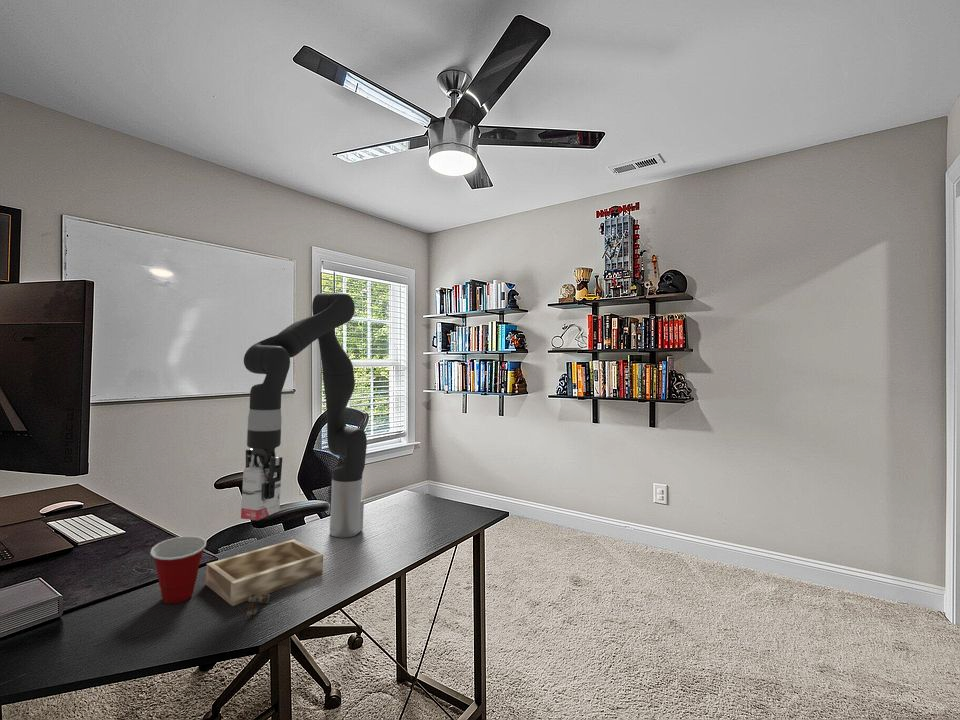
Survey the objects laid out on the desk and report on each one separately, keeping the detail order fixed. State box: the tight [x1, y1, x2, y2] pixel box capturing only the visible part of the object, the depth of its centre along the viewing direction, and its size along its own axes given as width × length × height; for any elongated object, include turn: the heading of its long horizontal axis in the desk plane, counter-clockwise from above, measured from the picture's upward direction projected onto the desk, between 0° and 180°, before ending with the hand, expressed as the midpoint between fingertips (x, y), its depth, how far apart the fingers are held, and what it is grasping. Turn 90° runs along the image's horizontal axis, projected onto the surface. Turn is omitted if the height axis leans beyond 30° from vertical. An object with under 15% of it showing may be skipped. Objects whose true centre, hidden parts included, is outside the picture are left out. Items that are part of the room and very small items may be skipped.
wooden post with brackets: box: [245, 593, 271, 619], centre depth 106 cm, size 2×8×4 cm, turn 178°
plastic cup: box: [150, 535, 207, 604], centre depth 110 cm, size 11×11×12 cm
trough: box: [205, 538, 324, 607], centre depth 120 cm, size 22×14×5 cm, turn 140°
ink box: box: [240, 466, 282, 521], centre depth 119 cm, size 9×5×12 cm, turn 167°
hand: (261, 495), depth 119 cm, fingers closed on ink box, 6 cm apart
